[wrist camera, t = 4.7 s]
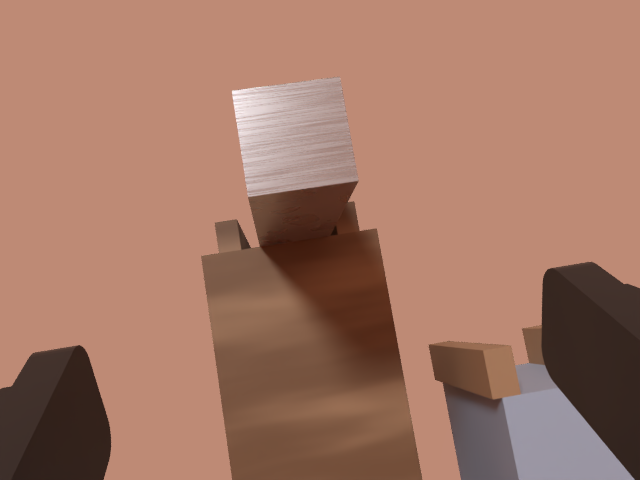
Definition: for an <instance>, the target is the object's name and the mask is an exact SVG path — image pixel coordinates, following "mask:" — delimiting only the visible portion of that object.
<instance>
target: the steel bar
mask: <svg viewBox="0 0 640 480" xmlns="http://www.w3.org/2000/svg"><path fill="white" fill-rule="evenodd" d="M232 95H233V101H234V108H235V114H236V121H237V127H238V134H239V140H240V147H241V154H242V160H243V166H244V173H245V180H246V186H247V193H248V199H249V203H250V207H251V211H252V215H253V219H254V224H255V228H256V232H257V236H258V240H259V244H260V247H262V246H269V245H275V244H281V243H288V242H294V241H300V240H307V239H313V238H319V237H326V236H330V235H331V233H332V231H333V229H334V228H335V226H336V224H337V222H338V220H339V218H340V216H341V214H342V212H343V210H344V208H345V206H346V204H347V202H348V200H349V198H350V196H351V194H352V193H353V190H354V189H355V187H356V185H357V183H358V175H357V170H356V164H355V159H354V153H353V147H352V142H351V136H350V131H349V125H348V119H347V114H346V109H345V103H344V98H343V92H342V86H341V80H340V77H333V78H326V79H319V80H310V81H303V82H295V83H288V84H281V85H273V86H265V87H258V88H250V89H242V90H234V91H232Z"/></svg>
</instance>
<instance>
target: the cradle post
mask: <svg viewBox="0 0 640 480" xmlns="http://www.w3.org/2000/svg"><path fill="white" fill-rule="evenodd" d="M522 331H523V335H524V340H525V345H526V350H527V354H528V359H529V363H527V364H521V365H516V366H515V363H514V359H513V353H512V348H511V346H510V345H496V344H482V343H467V342H453V341H447V342H442V343H436V344H430V345H429V350H430V354H431V360H432V365H433V370H434V376H435V380H438V381H440V382H443V386H444V392H445V397H446V402H447V407H448V412H449V418H450V422H451V429H452V434H453V439H454V444H455V449H456V455H457V460H458V465H459V471H460V476H461V480H634V478H633V477H632V476H631V475H630V474H629V472H628V471H627V470H626V469H625V467H624V466H623V465H622V464H621V463H620V461H619V460H618V459H617V458H616V457H615V455H614V454H613V453H612V452H611V451H610V449H609V448H608V447H607V446H606V445H605V443H604V442H603V441H602V440H601V439H600V437H599V436H598V435H597V434H596V433H595V431H594V430H593V429H592V428H591V427H590V425H589V424H588V423H587V422H586V420H585V419H584V418H583V417H582V416H581V414H580V413H579V412H578V411H577V410H576V408H575V407H574V406H573V405H572V404H571V402H570V401H569V400H568V399H567V398H566V396H565V395H564V394H563V393H562V392H561V390H560V389H559V388H558V387H557V386H556V384H555V383H554V382H553V381H552V379H551V377H550V376H549V374H548V372H547V369H546V367H545V364H544V360H543V356H542V348H541V338H542V325H540V326H534V327H529V328H523V329H522Z"/></svg>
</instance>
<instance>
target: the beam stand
mask: <svg viewBox="0 0 640 480" xmlns="http://www.w3.org/2000/svg"><path fill="white" fill-rule="evenodd" d="M215 227H216V235H217V242H218V249H219V253H218V254H211V255H205V256H201V258H202V265H203V272H204V280H205V287H206V294H207V301H208V308H209V316H210V322H211V330H212V337H213V344H214V351H215V358H216V366H217V373H218V379H219V387H220V394H221V402H222V408H223V416H224V423H225V430H226V437H227V445H228V451H229V459H230V466H231V473H232V480H422V475H421V470H420V464H419V459H418V453H417V448H416V442H415V437H414V431H413V426H412V421H411V415H410V409H409V404H408V398H407V393H406V387H405V382H404V376H403V371H402V365H401V360H400V354H399V349H398V343H397V338H396V332H395V327H394V321H393V316H392V310H391V304H390V299H389V294H388V288H387V283H386V277H385V271H384V266H383V260H382V256H381V249H380V244H379V238H378V233H377V229H371V230H364V231H359V226H358V220H357V215H356V209H355V203H354V202H347V204H346V206H345V208H344V210H343V212H342V214H341V216H340V218H339V220H338V222H337V224H336V226H335V228H334V229H333V231H332V233H331V235H330V236H326V237H319V238H313V239H307V240H300V241H294V242H288V243H281V244H275V245H269V246H262V247H256V248H251V247H250V245H249V243H248V242H247V239H246V237H245V235H244V233H243V231H242V229H241V227H240V225H239V223H238V221H237V220H230V221H223V222H217V223H215Z"/></svg>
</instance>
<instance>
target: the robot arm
mask: <svg viewBox="0 0 640 480" xmlns="http://www.w3.org/2000/svg"><path fill="white" fill-rule="evenodd" d="M542 295H543V296H542V338H541V348H542V356H543V360H544V364H545V367H546V369H547V372H548V374H549V376H550V377H551V379H552V381H553V382H554V383H555V384H556V386H557V387H558V388H559V389H560V390H561V392H562V393H563V394H564V395H565V396H566V398H567V399H568V400H569V401H570V402H571V404H572V405H573V406H574V407H575V408H576V410H577V411H578V412H579V413H580V414H581V416H582V417H583V418H584V419H585V420H586V422H587V423H588V424H589V425H590V427H591V428H592V429H593V430H594V431H595V433H596V434H597V435H598V436H599V437H600V439H601V440H602V441H603V442H604V443H605V445H606V446H607V447H608V448H609V449H610V451H611V452H612V453H613V454H614V455H615V457H616V458H617V459H618V460H619V461H620V463H621V464H622V465H623V466H624V467H625V469H626V470H627V471H628V472H629V474H630V475H631V476H632V477H633V478H634V480H640V288H637V287H635V286H632V285H629V284H623V283H621V282H620V281H619V280H617V279H616V278H615V277H613V276H612V275H611V274H609V273H608V272H606V271H605V270H604V269H602V268H601V267H600V266H598V265H597V264H595V263H593V262H586V263H580V264H574V265H568V266H562V267H556V268H551V269H548V270H547V271H546V272H545V274H544V278H543V292H542ZM110 451H111V434H110V427H109V422H108V418H107V415H106V411H105V408H104V405H103V402H102V398H101V395H100V392H99V389H98V386H97V382H96V379H95V376H94V373H93V369H92V366H91V363H90V360H89V357H88V354H87V352H86V351H85V349H84V348H83V347H82V346H80V345H78V346H72V347H66V348H60V349H54V350H48V351H42V352H36V353H33V354H32V355H31V356H30V357H29V359H28V360H27V362H26V364H25V365H24V367H23V369H22V370H21V372H20V374H19V375H18V377H17V379H16V380H15V382H14V384H13V385H12V387H6V388H2V389H0V480H103V479H104V476H105V472H106V469H107V465H108V462H109V457H110Z"/></svg>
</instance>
